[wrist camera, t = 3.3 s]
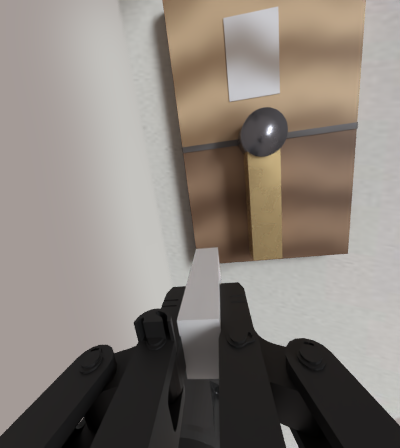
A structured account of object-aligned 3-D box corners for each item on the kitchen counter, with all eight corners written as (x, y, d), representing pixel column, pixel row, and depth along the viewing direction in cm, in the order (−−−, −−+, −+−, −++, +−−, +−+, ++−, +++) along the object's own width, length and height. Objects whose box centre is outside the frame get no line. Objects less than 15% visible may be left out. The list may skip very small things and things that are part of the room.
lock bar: (236, 120, 19) (240, 111, 16) (276, 114, 19) (287, 103, 16) (245, 251, 23) (249, 262, 20) (279, 249, 22) (289, 260, 19)
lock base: (337, 247, 24) (348, 253, 22) (199, 258, 26) (198, 265, 24) (352, -32, 18) (370, -59, 16) (166, 10, 19) (161, -9, 17)
